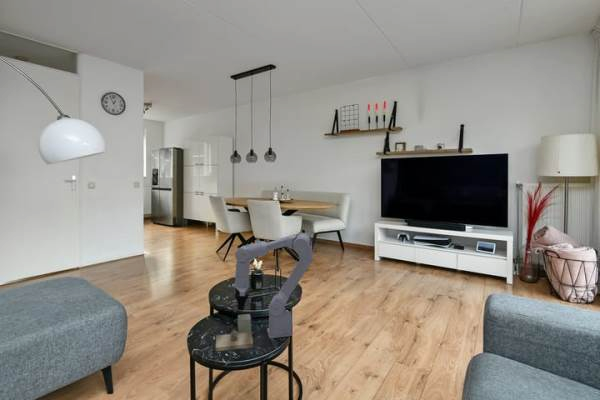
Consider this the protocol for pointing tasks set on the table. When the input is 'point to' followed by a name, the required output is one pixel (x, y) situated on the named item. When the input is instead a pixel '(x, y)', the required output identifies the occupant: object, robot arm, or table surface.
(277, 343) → the table surface
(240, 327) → the grey block
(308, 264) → the robot arm
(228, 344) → the stub board
